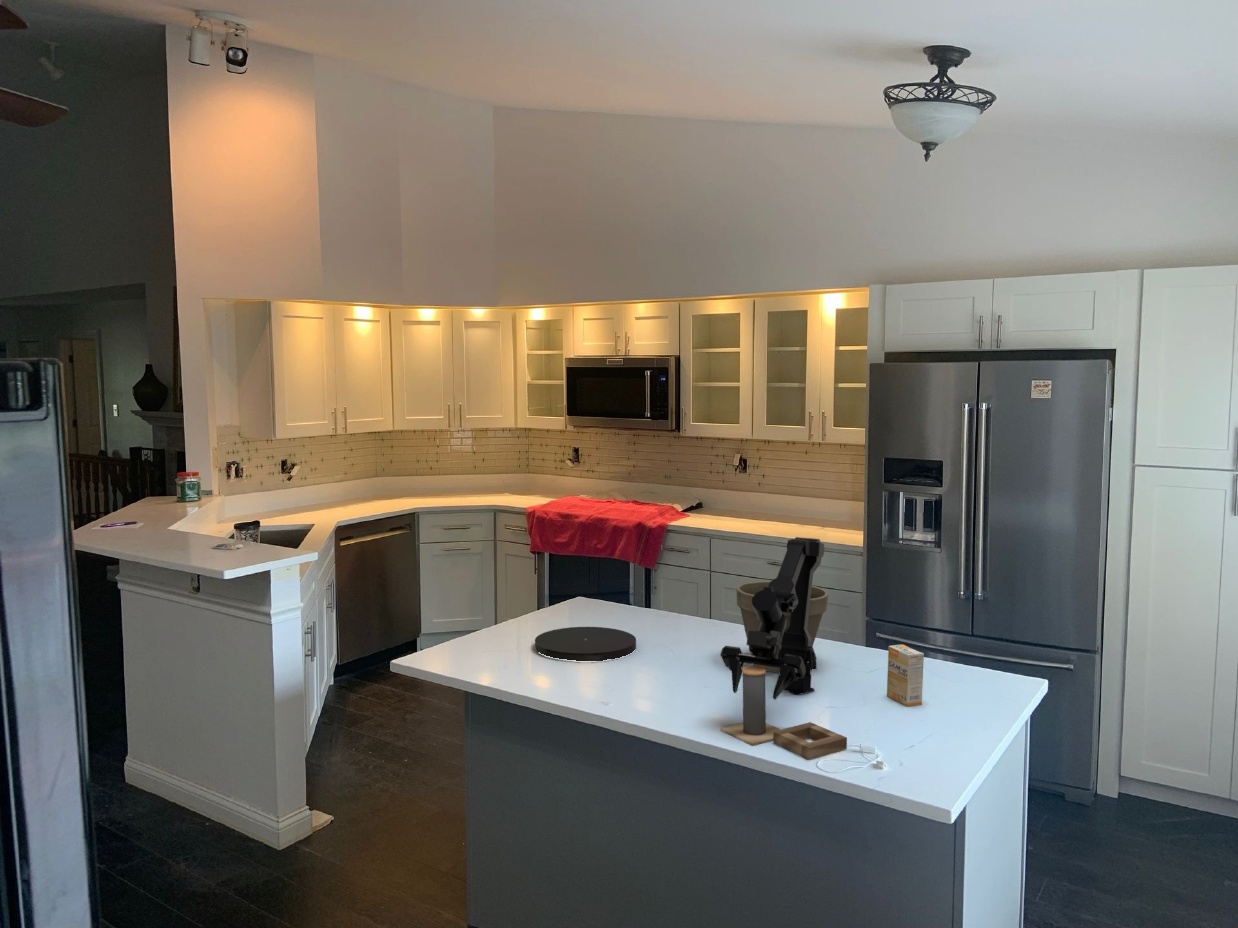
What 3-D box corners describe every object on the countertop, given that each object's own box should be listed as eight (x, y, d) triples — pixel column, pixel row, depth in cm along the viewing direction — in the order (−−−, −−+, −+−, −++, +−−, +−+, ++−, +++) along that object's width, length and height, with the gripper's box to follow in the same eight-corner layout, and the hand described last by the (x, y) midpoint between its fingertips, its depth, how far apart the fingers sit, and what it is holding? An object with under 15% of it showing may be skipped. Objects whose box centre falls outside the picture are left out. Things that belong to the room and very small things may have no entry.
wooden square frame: (773, 742, 203) (773, 731, 203) (809, 732, 209) (810, 721, 208) (809, 759, 194) (809, 747, 193) (846, 748, 200) (846, 737, 199)
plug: (739, 728, 210) (738, 667, 209) (761, 725, 211) (760, 665, 210) (747, 736, 205) (747, 673, 204) (769, 733, 206) (769, 671, 205)
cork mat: (720, 729, 210) (720, 727, 210) (757, 720, 216) (757, 718, 216) (752, 745, 201) (752, 743, 201) (790, 735, 207) (790, 733, 207)
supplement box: (885, 696, 234) (887, 645, 233) (901, 694, 236) (903, 643, 235) (906, 707, 226) (908, 654, 225) (922, 704, 228) (924, 652, 227)
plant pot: (821, 654, 270) (822, 581, 269) (831, 681, 246) (833, 600, 244) (734, 651, 273) (735, 578, 271) (736, 677, 248) (737, 597, 247)
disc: (521, 641, 283) (521, 631, 283) (611, 631, 296) (611, 622, 296) (556, 668, 256) (556, 658, 256) (653, 656, 269) (653, 646, 268)
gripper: (723, 611, 214) (705, 670, 205) (803, 620, 206) (787, 683, 197) (735, 636, 222) (717, 695, 213) (812, 646, 213) (797, 708, 204)
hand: (753, 695), depth 206 cm, fingers open, 9 cm apart
